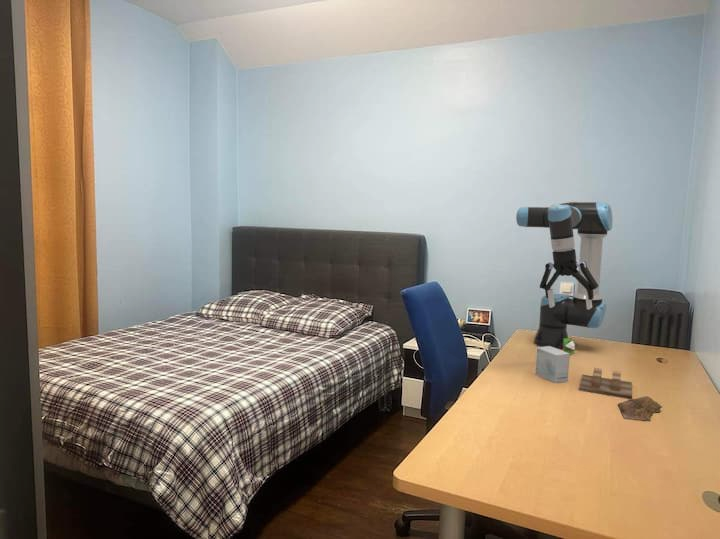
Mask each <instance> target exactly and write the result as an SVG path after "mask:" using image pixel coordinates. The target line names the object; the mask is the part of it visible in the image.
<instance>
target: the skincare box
mask: <svg viewBox="0 0 720 539" xmlns="http://www.w3.org/2000/svg"><path fill="white" fill-rule="evenodd" d="M570 357H571V354H570V353H567V352H564V350H563V349H557V348H554V347H551V346H545V347H541V346H537V347H536V359H535V374H534V375H537V376H539V377H541V378H543V379H545V380H547V381H550V382H552V383H554V384H556V383H564V382H569V371H570V370H569V369H570V359H571V358H570Z"/></svg>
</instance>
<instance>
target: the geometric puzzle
mask: <svg viewBox="0 0 720 539" xmlns="http://www.w3.org/2000/svg"><path fill="white" fill-rule="evenodd" d="M563 341H564V342H563ZM563 341H562V343H563V346H562V347H563V349H561V348H560V349H559V350H563V351H564V352H567V353H570V355H573V354H575V352H576V347H577V346H579V344H578V343H577V342H575V340H573V339H572V337H571V338H570V337H568V338H563ZM562 343H561V344H562ZM575 346H576V347H575Z"/></svg>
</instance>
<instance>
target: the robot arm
mask: <svg viewBox="0 0 720 539" xmlns="http://www.w3.org/2000/svg"><path fill="white" fill-rule="evenodd" d="M515 215H516V217H515V219H516V224H517V225H518V226H519V227H524V228H545V229H546V228H548V229H549V234H550V244H551V249H552V250H553V251H552V260H553V263H552V262H548V263H545V268H544V269H545V270H544V272H543V276H542V278H541V282H540V284H539V288H540V289H543V290H544V291H545V295H543V296H542V297H541V299H540V300H541V301H540V305H539V307H540V308H539V309H540V310H539V326H538V329H537V332H536V334H535V336H534V339H533V343H534V345H536V346H537V347H545V346H551V347H554V348H557V349H559V350H564V349H563V347H562V346H563V343H562V341H563V338H569V334H568V332H567V326H568V325H570V326H575V327H576V326H577V327H583V328H587V329H589V328H590V329H599V328H600V327H601V325H602V323H603V321H604V318H605V316H606V315H605V314H606V310H607V303H606V302H604V301H603V297H602V296H601V294H600V282H601V269H602V268H601V266H602V257H603V256H602V254H603V239H604V238H606V236H607V235H608V232H609V231H612V228H613V221H614V220H613V212H612V208H611V205H610V204H608V203H607V202H600V201H599V202H598V201H596V202H595V201H594V202H589V201H586V202H582V201H581V202H577V201H570V202H565V203H564V202H562V203H557V204H556V203H555V204H552V205H551V206H535V207H534V206H524V207H523V206H521V207H519V208H518V209H517V212H516V214H515ZM574 230H577V235H578V236H579V237H580V246H579V259H578V260H579V262H577V253H576V249H575V248H576V245H575V239H574V237H575V236H574ZM553 268H554V270H555V272H554V273H553V275H552V277H551V278H550V279H549V277H550V275H551V273H552V269H553ZM577 268H578V269H577ZM559 276H561V277H562V276H566V277H567V276H568V277H570V276H572V277H573V278H575V279H576V281H577V290H576V292H575V293H574V294H573V296H572V298H570V296H569V294H566V293H565V294H563V293H558V294H557V293H556V294H555V293H554V289H553V288H552V287H553V285H554V284H555V282H556V281H557V280H558V278H559ZM563 342H564V341H563ZM561 343H562V344H561ZM560 348H561V349H560Z"/></svg>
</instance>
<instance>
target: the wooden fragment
mask: <svg viewBox="0 0 720 539" xmlns="http://www.w3.org/2000/svg"><path fill="white" fill-rule="evenodd" d="M617 405H618V407H619V410H620V412H621V414H622V416H623V420H631V421H636V422H638V421H641V422H651V421H652V420H651V418H652V417H651V416H653V414H657V413H660V412H661V408H662V407H663V406H662V405H661V404H660V403H658V402H657V401H655V400H653V399H652V398H651V397H650V396H648V395H647V396H645V395H644V396H643V397H637V398H632V399H627V400H625V401H623V402H622V401H621V402H618V403H617Z"/></svg>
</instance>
